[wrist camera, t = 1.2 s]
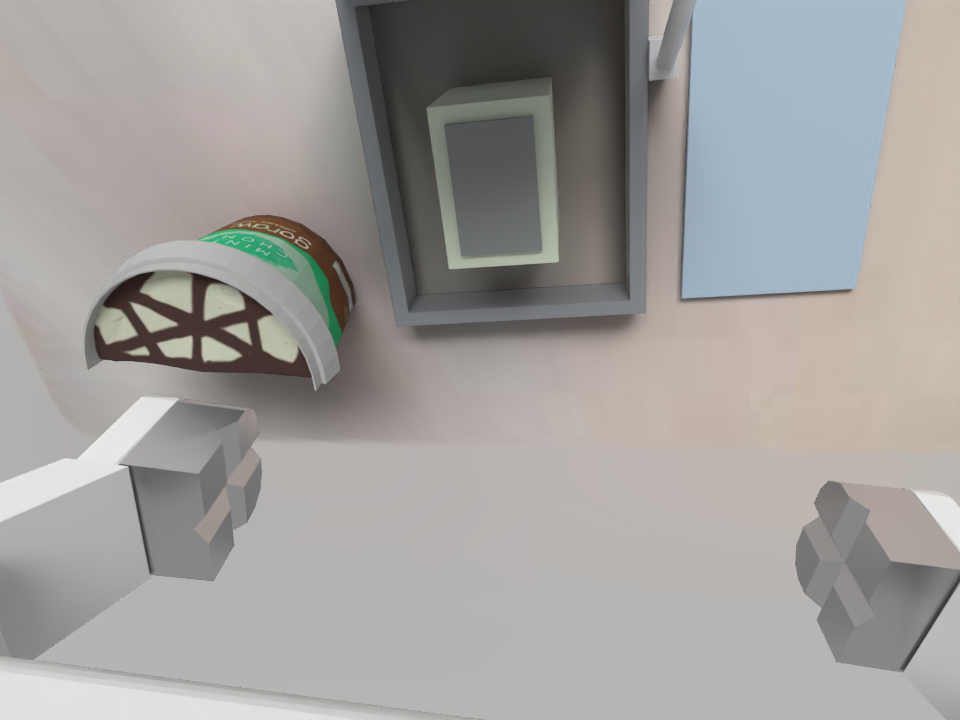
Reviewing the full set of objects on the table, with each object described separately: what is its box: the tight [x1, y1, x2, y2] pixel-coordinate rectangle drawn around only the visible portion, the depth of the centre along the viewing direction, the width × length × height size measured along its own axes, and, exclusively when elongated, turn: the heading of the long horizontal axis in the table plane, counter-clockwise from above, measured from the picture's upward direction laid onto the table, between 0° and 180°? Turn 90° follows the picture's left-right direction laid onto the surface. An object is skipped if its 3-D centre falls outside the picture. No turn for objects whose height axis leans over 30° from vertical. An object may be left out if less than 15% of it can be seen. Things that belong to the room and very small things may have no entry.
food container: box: [83, 215, 355, 391], centre depth 34 cm, size 12×6×10 cm, turn 88°
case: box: [335, 0, 697, 327], centre depth 28 cm, size 15×18×13 cm
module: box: [426, 77, 559, 269], centre depth 31 cm, size 5×7×7 cm
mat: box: [681, 0, 906, 298], centre depth 32 cm, size 9×15×1 cm, turn 6°
